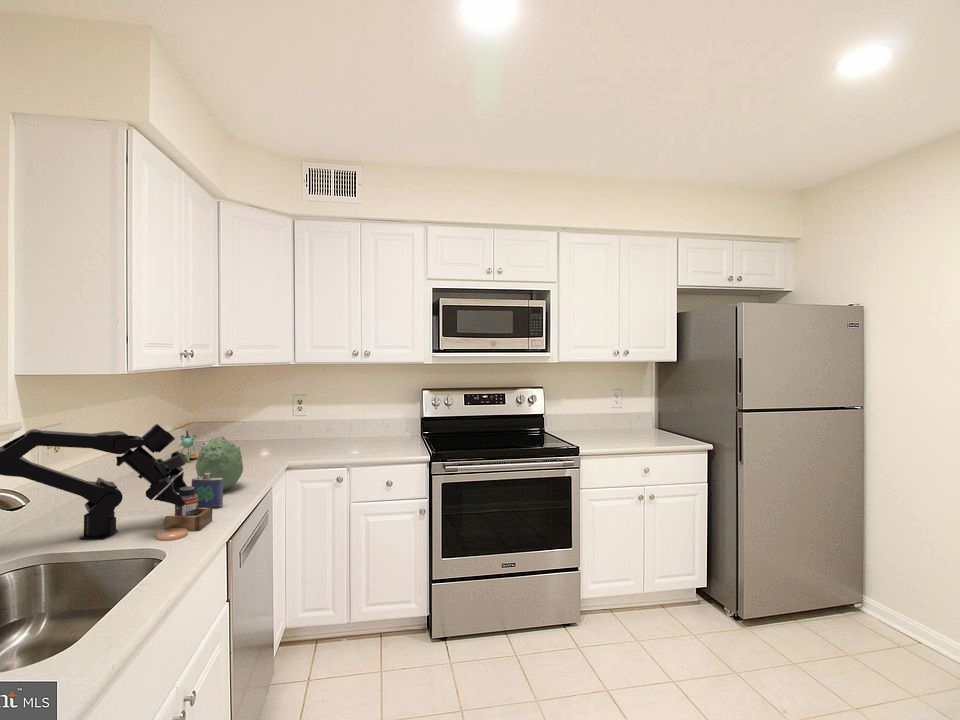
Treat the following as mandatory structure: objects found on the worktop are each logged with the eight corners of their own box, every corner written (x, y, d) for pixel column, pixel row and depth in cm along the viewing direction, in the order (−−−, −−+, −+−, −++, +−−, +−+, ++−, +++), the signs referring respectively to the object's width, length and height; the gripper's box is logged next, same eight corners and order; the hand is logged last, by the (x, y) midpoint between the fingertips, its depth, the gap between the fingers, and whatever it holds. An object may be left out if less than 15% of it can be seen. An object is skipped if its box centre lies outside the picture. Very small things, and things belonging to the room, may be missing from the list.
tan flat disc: (150, 540, 143) (150, 537, 143) (164, 531, 150) (164, 527, 150) (179, 540, 144) (179, 537, 143) (192, 531, 151) (192, 527, 151)
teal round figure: (169, 464, 233) (170, 430, 234) (179, 460, 250) (180, 429, 251) (193, 463, 236) (194, 430, 237) (202, 459, 253) (202, 428, 254)
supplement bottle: (171, 525, 155) (172, 487, 155) (193, 521, 160) (194, 484, 159) (177, 530, 151) (178, 491, 151) (200, 526, 155) (200, 488, 155)
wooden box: (164, 530, 151) (164, 517, 150) (179, 520, 159) (179, 507, 159) (199, 530, 151) (199, 517, 151) (212, 520, 160) (212, 507, 160)
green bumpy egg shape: (247, 483, 205) (248, 432, 204) (236, 496, 186) (237, 440, 186) (203, 484, 201) (204, 432, 201) (188, 498, 183) (189, 441, 182)
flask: (224, 506, 175) (224, 471, 175) (220, 509, 172) (220, 474, 172) (193, 506, 174) (193, 471, 174) (188, 509, 171) (189, 473, 171)
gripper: (159, 450, 145) (203, 488, 148) (176, 439, 162) (214, 473, 166) (126, 480, 142) (171, 518, 146) (146, 465, 160) (186, 499, 164)
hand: (187, 500), depth 155 cm, fingers open, 9 cm apart
